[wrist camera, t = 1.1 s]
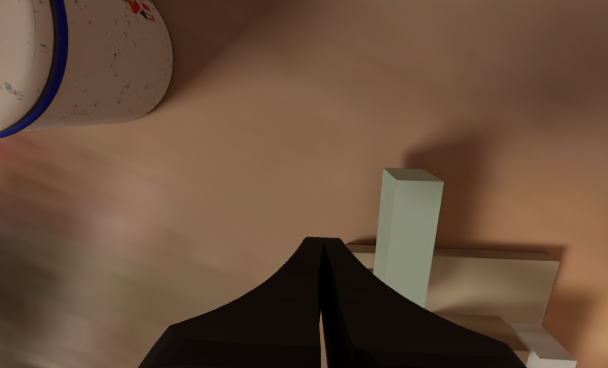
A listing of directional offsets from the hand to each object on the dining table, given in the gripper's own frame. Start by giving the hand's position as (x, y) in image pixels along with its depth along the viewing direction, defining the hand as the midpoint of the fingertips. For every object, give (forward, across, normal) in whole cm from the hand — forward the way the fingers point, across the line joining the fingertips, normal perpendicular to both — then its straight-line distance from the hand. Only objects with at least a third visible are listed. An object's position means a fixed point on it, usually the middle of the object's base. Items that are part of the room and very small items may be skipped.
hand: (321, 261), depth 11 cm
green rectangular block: (+8, -5, +3) cm, 10 cm away
